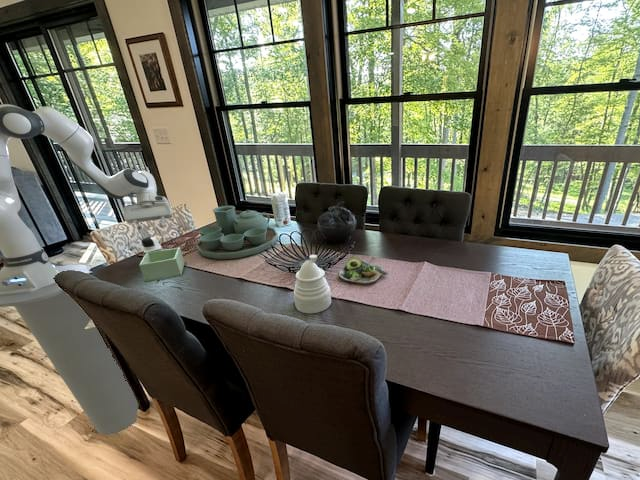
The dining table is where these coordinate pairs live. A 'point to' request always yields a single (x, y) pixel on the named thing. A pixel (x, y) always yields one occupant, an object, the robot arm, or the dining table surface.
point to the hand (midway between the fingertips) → (150, 227)
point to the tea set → (236, 234)
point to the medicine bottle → (151, 244)
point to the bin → (162, 264)
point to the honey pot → (311, 288)
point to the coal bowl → (337, 223)
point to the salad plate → (361, 272)
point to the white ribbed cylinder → (280, 209)
